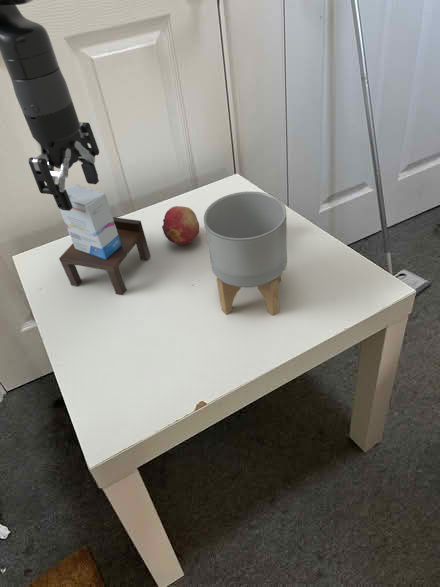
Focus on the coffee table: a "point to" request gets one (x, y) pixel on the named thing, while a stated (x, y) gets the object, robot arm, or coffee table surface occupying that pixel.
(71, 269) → the small wooden stool
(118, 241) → the ink box
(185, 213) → the fruit
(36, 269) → the coffee table surface
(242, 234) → the planter
